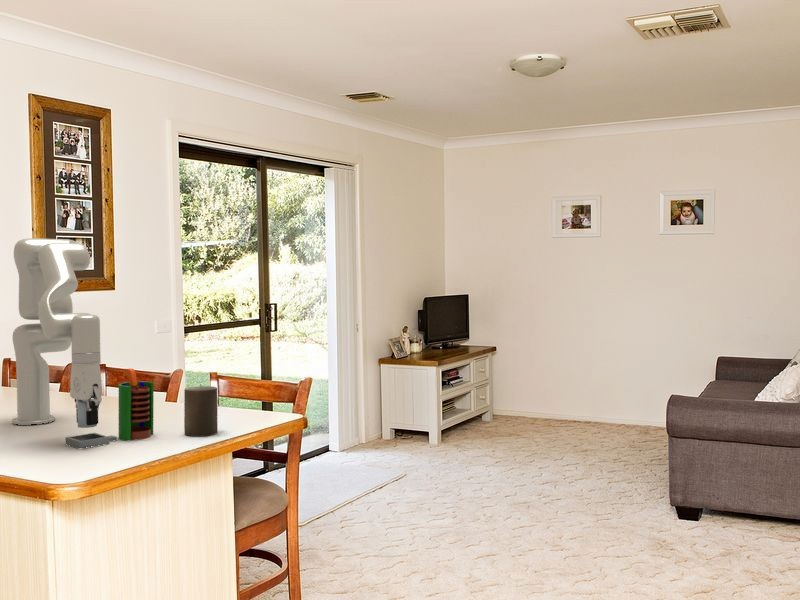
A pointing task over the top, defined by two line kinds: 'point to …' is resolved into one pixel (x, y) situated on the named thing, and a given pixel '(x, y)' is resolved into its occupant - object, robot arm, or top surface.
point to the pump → (83, 414)
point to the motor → (135, 408)
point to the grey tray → (88, 440)
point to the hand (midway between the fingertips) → (87, 422)
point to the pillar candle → (200, 411)
